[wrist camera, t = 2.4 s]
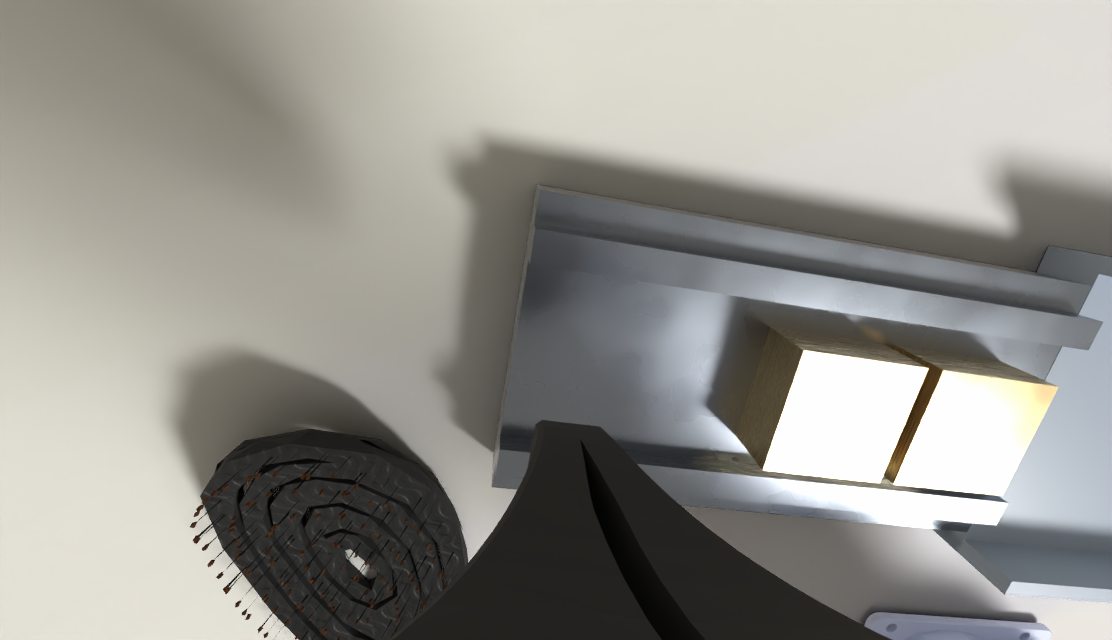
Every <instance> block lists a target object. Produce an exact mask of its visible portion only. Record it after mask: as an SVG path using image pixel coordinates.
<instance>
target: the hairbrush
mask: <svg viewBox="0 0 1112 640" xmlns="http://www.w3.org/2000/svg"><path fill="white" fill-rule="evenodd" d="M262 466H263V467H262ZM261 467H262V468H261ZM260 468H261V469H260ZM259 469H260V471H259V472H258V473H257V474H256V475H255V477H254V479H253V481H252V483H251V484H250V486H249V488H248V490H247V492H246V493H245V495H244V489H243V487H244V485H245V483H247V482H248V481H250V479H252V476H253V475H254V474H255V473H256V472H257V471H258V470H259ZM279 485H280V487H279V492H278V493H277V495H276V497H275V498H274V499H273V495H272V494H273V493H272V492H273V491H274V490H275V489H276V488H277V487H278V486H279ZM272 488H274V489H273V490H271V489H272ZM200 497H201V499H202V501H203V502H202V503H203V505H200V506H199V507H198V508H197V509H196V510H197V512H196V513H195V514H194V517H195V516H198V515H199V512H200V510H201V509H203V508H204V506H205V508H206V511H207V513H208V515H209V518H210V520H211V522H212V524H211V525H213V526H212V527H214V529H215V532H216V534H217V536H218V539H219V541H220V543H221V546H222V548H223V549H224V550H225V552H226V553H227V554H228V555H229V557H230V558H231V559H232V561H233V562H234V563H235V564H236V566H237V567H238V568H239V570H240V571H241V572H242V575H244V576H245V577H246V579H247V580H248V581H249V583H250V584H251V585H252V587H253V588H254V589H255V590H256V592H257V593H258V594H259V595H260V597H261V598H262V601H263V602H265V603H266V604H267V606H268V607H269V608H270V610H271V611H272V612H273V613H272V614H275V615H276V616H277V617H278V619H280V620H281V621H282V622H283V624H284V626H286V627H287V628H288V629H289V630H290V631H291V632H292V633H293V634H294V635H295V636H296V637H295V639H297V638H298V639H299V640H389V639H390V638H391V637H393V636H394V635H395V634H396V633H397V632H398V631H399V630H401V629H402V628H403V627H404V626H405V625H406V624H407V623H409V622H410V621H411V620H412V619H413V618H414V617H415V614H416V611H417V608H418V604H419V600H420V594H421V590H420V585H419V580H418V576H419V579H420V582H421V583H420V584H421V585H422V589H423V592H424V595H425V601H423V603H422V605H421V607H422V610H423V609H425V608H426V607H427V606H428V605H429V604H430V603H431V602H432V601H433V600H434V599H435V598H436V597H437V596H438V595H439V594H440V593H441V592H442V591H443V590H444V589H445V588H446V585H444V586H443V576H442V567H441V562H440V557H439V552H438V548H437V545H436V543H435V541H436V542H437V544H438V545H439V550H440V554H441V559H442V563H443V568H444V572H445V577H446V581H447V583H446V584H447V585H448V584H449V583H450V582H451V581H452V580H453V579H454V578H455V577H456V576H457V575H458V574H459V573H460V572H461V570H462V569H463V568H464V567H465V566H466V565H467V564H468V556H467V548H466V544H465V541H464V537H463V534H462V530H461V527H462V526H461V527H460V525H461V524H460V521H459V519H458V516H457V513H456V511H455V508H454V506H453V505H452V503H451V501H450V499H449V498H448V496H447V494H446V493H445V491H444V489H443V488H442V486H441V484H440V483H439V481H438V479H437V478H436V476H434V475H433V474H431V473H430V472H428V471H427V470H425V469H424V468H422V467H421V466H419V465H418V464H416V463H415V462H414V461H412V460H411V459H409V458H408V457H406V456H405V455H403V454H402V453H400V452H399V451H397V450H396V449H394V448H393V447H391V446H390V445H388V444H387V443H385V442H384V441H382V440H381V439H374V438H367V437H361V436H354V435H347V434H341V433H334V432H328V431H321V430H314V429H307V430H301V431H296V432H290V433H285V434H279V435H274V436H268V437H262V438H257V439H251V440H246V441H243V442H242V443H241V444H240V445H239V446H238V447H237V448H235V449H234V450H233V451H232V452H231V453H230V454H229V455H227V456H226V457H225V458H224V459H223V460H222V461H221V462H220V463H218V464H217V467H216V470H215V474H214V475H213V477H212V478H211V480H210V481H209V483H208V485H207V486H206V488H205V489H204V491H203V492H202V494H201V496H200ZM310 506H312V508H311V513H310V515H309V518H308V521H307V519H306V512H307V508H308V507H310ZM207 513H206V514H207ZM206 514H205V515H206ZM201 518H202V517H201ZM201 518H200V519H201ZM200 519H199V520H200ZM199 520H198V521H199ZM196 523H197V522H194V523H192V524H191V526H190V527H192V528H194V527H195V525H196ZM211 525H209V526H208V527H207V528H206V529H205V530H204V531H203V532H201V533H200V534H199V535H198V536H195V538H194V539H193V541H194V543H196V544H197V543H198V541H199V540H200V539H201V538H200V536H201V535H202V534H203V533H204V532H205V531H206V530H207V529H208V528H209V527H210V526H211ZM212 527H211V528H212ZM211 528H210V529H211ZM210 529H209V530H210ZM209 530H208V531H209ZM208 531H207V532H208ZM207 532H206V533H207ZM214 539H215V538H214ZM214 539H213V540H214ZM213 540H212V541H213ZM434 540H435V541H434ZM212 541H211V542H212ZM211 542H210V543H211ZM210 543H208V544H206V545H205V546H204V547H203V548H202V551H204V550H206V549H207V548H208V546H209V544H210ZM408 548H409V549H408ZM348 549H351V550H352V551H353V553H354V552H355V557H357V555H358V556H359V557H361V558H362V559H363V560H364V561H365V563H364V564H365V565H366V564H369V565H370V568H371V569H372V568H374V569H375V570H376V571H377V572H378V573H377V576H376V577H375V578H373V579H371V580H367V579H366V578H365V577H364V575H363V574H362V572H360V570H358V569H357V568H356V567H354V566H353V565H352V564H351V562H349V561H350V560H349V558H348V560H349V561H348V560H347V559H346V556H345V554H346V552H345V550H348ZM224 550H223V551H224ZM223 551H222V552H223ZM410 551H411V553H412V556H413V558H412V556H411V553H410ZM222 552H221V553H222ZM221 553H220V554H221ZM353 553H352V554H353ZM220 554H219V555H220ZM219 555H218V556H219ZM346 555H347V554H346ZM218 556H217V557H218ZM351 556H352V555H351ZM351 556H350V557H351ZM217 557H216V558H217ZM347 557H348V556H347ZM355 557H354V558H355ZM216 558H215V559H216ZM215 559H214V560H211V561H210V562H209V563H208V567H209V566H211V565H213V563H214V561H215ZM413 559H414V561H413ZM233 562H232V563H233ZM232 563H231V564H232ZM231 564H230V565H231ZM364 564H363V565H364ZM230 565H229V566H230ZM229 566H228V567H229ZM366 566H367V565H366ZM366 566H365V567H366ZM362 567H363V566H362ZM362 567H361V568H362ZM364 569H365V568H364ZM364 569H363V570H364ZM392 569H393V570H394V572H395V573H396V575H397V580H396V581H395V583H394V582H393V573H392ZM241 572H240V573H241ZM417 572H418V574H417ZM240 573H239V574H240ZM239 574H238V575H239ZM238 575H237V576H236V577H235V578H234V579H233V580H232V581H231V582H230V583H229V584H228V585H227V586H226V587H225V588H224V589H223V590H224V592H225V594H227V593H228V592H229V591H230V589H231V587H232V586H233V585H234V584H233V585H232V586H231V587H229V586H230V585H231V583H232V582H233V581H234V580H235V579H236V578H237V577H238ZM242 575H241V576H242ZM222 576H223V573H222V572H221V573H220V574H219V575H218V576H217V577H216V578H218V579H219V578H221V577H222ZM241 576H240V577H241ZM240 577H239V578H240ZM239 578H238V579H239ZM238 579H237V580H238ZM237 580H236V581H237ZM236 581H235V582H236ZM235 582H234V583H235ZM396 582H397V586H396V587H395V589H394V590H393V587H394V585H395V584H396ZM228 587H229V588H228ZM249 591H250V590H249ZM249 591H248V592H249ZM248 592H247V593H248ZM241 600H242V599H241ZM255 600H256V599H255ZM240 603H241V601H238V602H237V603H236V605H235V607H238V606H239V604H240ZM249 607H250V606H249ZM246 612H247V609H246V610H245V611H243V612H242V615H245V614H246ZM272 614H271V615H272ZM271 615H270V616H271ZM250 616H251V614H248V615H247V617H246V619H245V620H248V619H249V618H250ZM269 618H270V617H269ZM269 618H268V619H269ZM268 619H267V620H268ZM267 620H266V622H267ZM266 622H265V623H266ZM265 623H264V624H265ZM275 623H276V622H275ZM275 623H274V624H275ZM264 624H263V625H264ZM263 625H262V626H261V627H260V628H259V629H258V633H259V632H260V631H261V630H262V629H263V628H262V627H263ZM271 628H272V627H271ZM282 628H283V627H282ZM279 632H280V631H279ZM267 635H268V632H267V633H266V634H264V638H266V637H267ZM276 636H277V635H276Z"/></svg>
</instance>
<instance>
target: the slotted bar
mask: <svg viewBox="0 0 1112 640" xmlns="http://www.w3.org/2000/svg"><path fill="white" fill-rule="evenodd" d="M1091 287H1092V286H1091V285H1087V284H1083V283H1079V282H1075V281H1070V280H1066V279H1062V278H1058V277H1054V276H1050V275H1046V274H1041V273H1037V272H1033V271H1027V270H1021V269H1016V268H1010V267H1004V266H998V265H993V264H987V263H981V262H976V261H970V260H964V259H959V258H953V257H947V256H942V255H936V254H930V253H924V252H919V251H913V250H907V249H902V248H896V247H890V246H885V245H879V244H873V243H867V242H862V241H856V240H850V239H845V238H839V237H833V236H828V235H822V234H816V233H811V232H805V231H799V230H793V229H788V228H782V227H776V226H771V225H765V224H759V223H754V222H748V221H742V220H736V219H731V218H725V217H719V216H714V215H708V214H702V213H697V212H691V211H685V210H680V209H674V208H668V207H662V206H657V205H651V204H645V203H640V202H634V201H628V200H623V199H617V198H611V197H606V196H600V195H594V194H588V193H583V192H577V191H571V190H566V189H560V188H554V187H549V186H543V185H537V184H536V190H535V196H534V202H533V209H532V215H531V221H530V227H529V234H528V240H527V246H526V253H525V259H524V265H523V272H522V278H521V284H520V290H519V297H518V303H517V309H516V316H515V322H514V328H513V335H512V341H511V347H510V353H509V360H508V366H507V372H506V379H505V385H504V391H503V398H502V404H501V410H500V416H499V423H498V429H497V435H496V442H495V448H494V455H493V473H492V487H496V488H507V489H517V490H518V488H519V486H520V484H521V482H522V480H523V478H524V476H525V474H526V471H527V468H528V462H529V457H530V451H531V446H532V440H533V435H534V430H535V424H537V423H538V422H540V421H541V420H547V421H556V422H565V423H574V424H583V425H592V426H600V427H601V428H602V429H603V430H604V431H605V432H606V433H607V434H608V435H609V436H610V437H611V438H612V439H613V440H614V441H615V442H616V443H617V444H618V445H619V446H620V447H621V448H622V449H623V450H624V451H625V452H626V453H627V454H628V455H629V456H630V458H631V459H632V460H633V461H634V462H635V463H636V464H637V465H638V466H639V467H640V468H641V469H642V470H643V471H644V472H645V473H646V474H647V475H648V476H649V477H650V478H651V479H652V480H653V481H654V482H655V483H656V484H657V485H658V486H660V487H661V488H662V489H663V490H664V491H665V492H666V493H667V494H668V495H669V496H670V497H671V498H673V499H674V500H675V501H676V502H677V503H678V504H679V505H686V506H696V507H707V508H717V509H728V510H738V511H749V512H759V513H770V514H780V515H791V516H801V517H812V518H822V519H833V520H843V521H854V522H864V523H875V524H885V525H896V526H906V527H917V528H928V529H938V530H949V531H959V532H967V531H968V529H969V527H970V525H971V523H976V524H986V525H997V523H998V522H999V520H1000V518H1001V516H1002V514H1003V512H1004V510H1005V508H1006V506H1007V504H1008V502H1006V501H1005V500H1003V499H1002V498H1001V497H999V496H997V495H988V494H979V493H969V492H960V491H951V490H941V489H932V488H923V487H913V486H904V485H895V484H893V483H891V482H890V481H889V480H888V479H887V478H886V477H885V476H884V475H883V476H882V478H881V481H880V483H876V482H867V481H857V480H848V479H838V478H829V477H820V476H810V475H801V474H792V473H782V472H773V471H764V470H762V469H761V468H760V466H759V465H758V464H757V462H756V461H755V460H754V459H753V457H752V456H751V455H750V453H749V452H748V451H747V450H746V448H745V447H744V446H743V444H742V443H741V442H740V441H739V439H738V438H737V437H736V434H737V430H738V427H739V424H740V421H741V418H742V415H743V412H744V409H745V405H746V402H747V399H748V396H749V393H750V390H751V387H752V384H753V380H754V377H755V374H756V371H757V368H758V365H759V362H760V358H761V355H762V352H763V349H764V346H765V343H766V340H767V337H768V333H769V330H770V327H772V328H779V329H786V330H793V331H800V332H806V333H813V334H820V335H827V336H834V337H840V338H847V339H854V340H861V341H868V342H874V343H881V344H884V345H886V346H888V347H890V348H892V349H893V350H894V349H895V347H896V346H902V347H908V348H915V349H922V350H929V351H936V352H942V353H949V354H956V355H963V356H969V357H976V358H983V359H990V360H997V361H1001V362H1004V363H1006V364H1008V365H1010V366H1013V367H1015V368H1017V369H1020V370H1022V371H1024V372H1026V373H1029V374H1031V375H1033V376H1036V377H1038V378H1040V379H1042V380H1045V378H1046V376H1047V374H1048V372H1049V370H1050V368H1051V366H1052V364H1053V362H1054V360H1055V358H1056V356H1057V354H1058V352H1059V350H1060V348H1061V346H1062V347H1069V348H1075V349H1082V350H1088V351H1089V349H1090V347H1091V345H1092V343H1093V341H1094V339H1095V337H1096V335H1097V333H1098V332H1099V330H1100V328H1101V326H1102V324H1103V322H1102V321H1099V320H1095V319H1092V318H1089V317H1085V316H1082V315H1079V314H1078V313H1079V311H1080V309H1081V307H1082V305H1083V303H1084V301H1085V299H1086V297H1087V295H1088V293H1089V291H1090V289H1091Z"/></svg>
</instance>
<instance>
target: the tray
mask: <svg viewBox="0 0 1112 640" xmlns="http://www.w3.org/2000/svg"><path fill="white" fill-rule="evenodd" d="M1037 273H1041V274H1046V275H1050V276H1054V277H1058V278H1062V279H1066V280H1070V281H1075V282H1079V283H1083V284H1087V285H1091V286H1092V287H1091V289H1090V291H1089V293H1088V295H1087V297H1086V299H1085V301H1084V303H1083V305H1082V307H1081V309H1080V311H1079V313H1078V314H1079V315H1082V316H1085V317H1089V318H1092V319H1095V320H1099V321H1102V322H1103V324H1102V326H1101V328H1100V330H1099V332H1098V333H1097V335H1096V337H1095V339H1094V341H1093V343H1092V345H1091V347H1090V349H1089V351H1088V350H1082V349H1075V348H1069V347H1062V346H1061V348H1060V350H1059V352H1058V354H1057V356H1056V358H1055V360H1054V362H1053V364H1052V366H1051V368H1050V370H1049V372H1048V374H1047V376H1046V378H1045V381H1047V382H1049V383H1051V384H1054V385H1056V386H1058V387H1059V388H1058V390H1057V392H1056V394H1055V395H1054V397H1053V399H1052V401H1051V403H1050V405H1049V407H1048V409H1047V411H1046V413H1045V415H1044V417H1043V419H1042V420H1041V422H1040V424H1039V426H1038V428H1037V430H1036V432H1035V434H1034V436H1033V438H1032V440H1031V442H1030V444H1029V446H1028V447H1027V449H1026V451H1025V453H1024V455H1023V457H1022V459H1021V461H1020V463H1019V465H1018V467H1017V469H1016V471H1015V472H1014V474H1013V476H1012V478H1011V480H1010V482H1009V484H1008V486H1007V488H1006V490H1005V492H1004V494H1003V496H999V497H1001V498H1002V499H1003V500H1005V501H1006V502H1008V504H1007V506H1006V508H1005V510H1004V512H1003V514H1002V516H1001V518H1000V520H999V522H998V523H997V525H986V524H976V523H971V525H970V527H969V529H968V531H967V532H959V531H949V530H938V529H933V530H934V531H935V532H936V533H937V534H938V535H939V536H940V537H942V538H943V539H944V540H945V541H946V542H947V543H948V544H949V545H950V546H952V547H953V548H954V549H955V550H956V551H957V552H958V553H959V554H960V555H961V556H963V557H964V558H965V559H966V560H967V561H968V562H969V563H970V564H971V565H972V566H974V567H975V568H976V569H977V570H978V571H979V572H980V573H981V574H982V575H983V576H985V577H986V578H987V579H988V580H989V581H990V582H991V583H992V584H993V585H994V586H996V587H997V588H998V589H999V590H1000V591H1001V592H1002V593H1003V594H1004V595H1014V596H1027V597H1040V598H1053V599H1066V600H1079V601H1092V602H1105V603H1112V257H1109V256H1104V255H1098V254H1093V253H1087V252H1082V251H1077V250H1071V249H1066V248H1060V247H1055V246H1048V249H1047V251H1046V253H1045V255H1044V257H1043V259H1042V261H1041V263H1040V266H1039V268H1038V270H1037Z"/></svg>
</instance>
